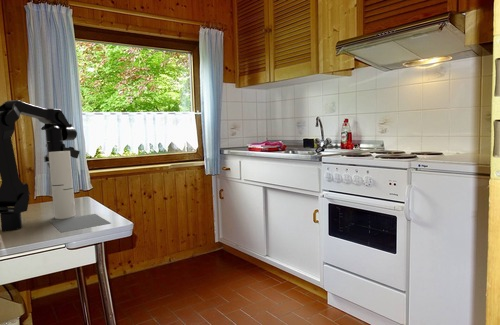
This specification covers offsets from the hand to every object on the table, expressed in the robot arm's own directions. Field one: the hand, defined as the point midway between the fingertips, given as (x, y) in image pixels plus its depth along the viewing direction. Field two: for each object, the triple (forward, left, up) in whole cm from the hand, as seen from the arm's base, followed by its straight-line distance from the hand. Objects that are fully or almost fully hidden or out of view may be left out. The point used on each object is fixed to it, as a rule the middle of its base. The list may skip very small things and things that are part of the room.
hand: (58, 180), depth 142 cm
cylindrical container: (-8, -5, -13) cm, 16 cm away
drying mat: (-19, -14, -13) cm, 28 cm away
